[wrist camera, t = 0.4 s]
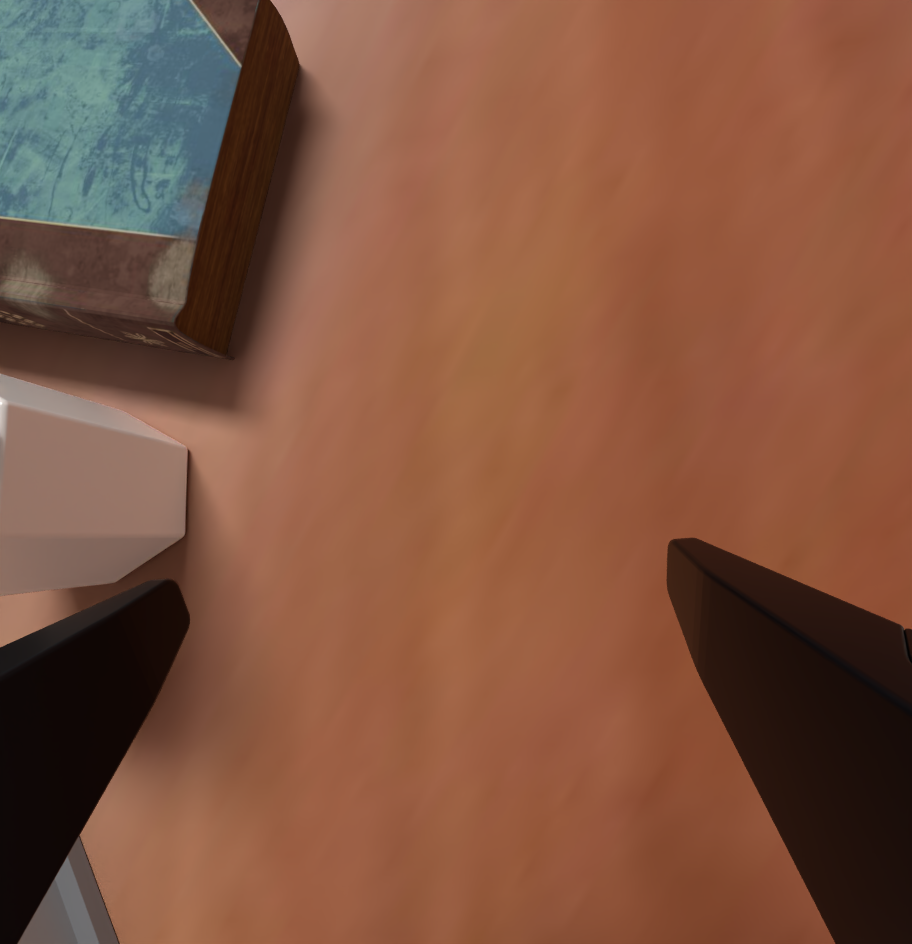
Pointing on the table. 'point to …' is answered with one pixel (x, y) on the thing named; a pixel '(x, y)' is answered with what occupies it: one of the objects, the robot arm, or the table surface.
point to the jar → (82, 490)
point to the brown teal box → (137, 163)
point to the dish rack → (71, 908)
